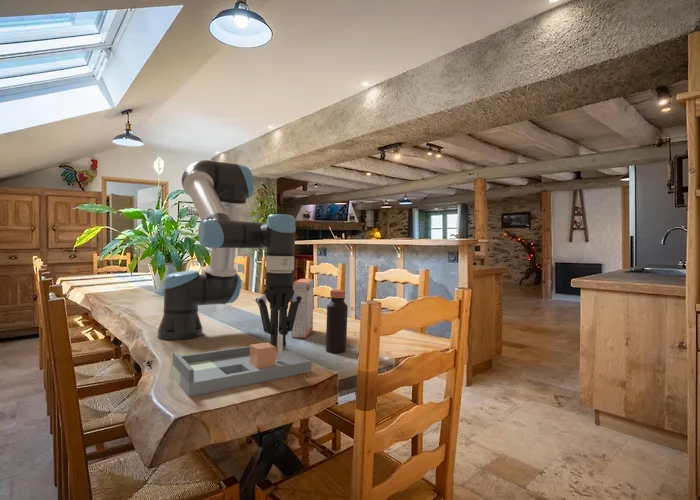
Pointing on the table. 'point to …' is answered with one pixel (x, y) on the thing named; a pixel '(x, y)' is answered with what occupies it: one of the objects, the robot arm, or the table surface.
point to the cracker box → (303, 308)
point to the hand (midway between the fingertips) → (277, 358)
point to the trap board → (231, 369)
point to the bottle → (336, 323)
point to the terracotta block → (262, 355)
